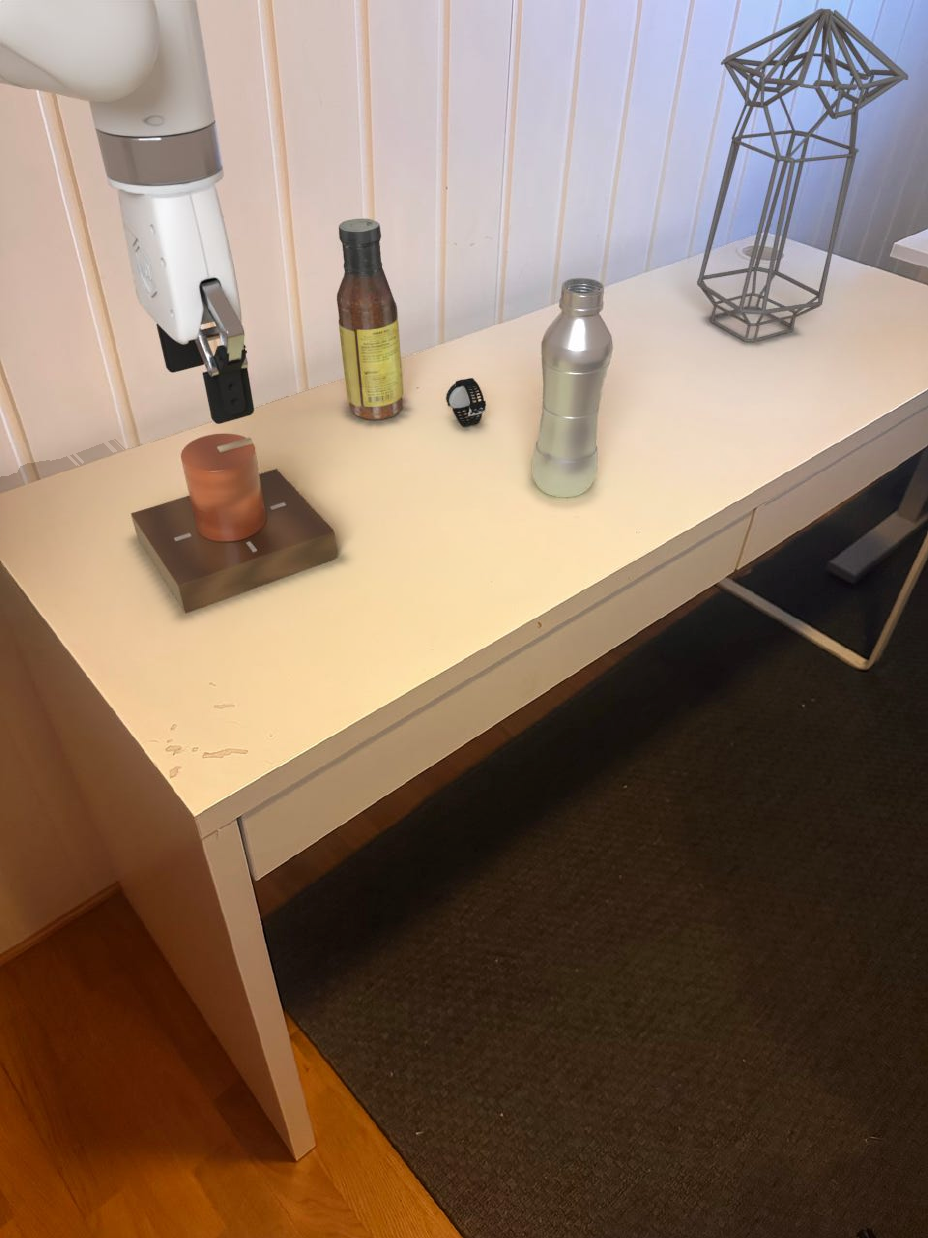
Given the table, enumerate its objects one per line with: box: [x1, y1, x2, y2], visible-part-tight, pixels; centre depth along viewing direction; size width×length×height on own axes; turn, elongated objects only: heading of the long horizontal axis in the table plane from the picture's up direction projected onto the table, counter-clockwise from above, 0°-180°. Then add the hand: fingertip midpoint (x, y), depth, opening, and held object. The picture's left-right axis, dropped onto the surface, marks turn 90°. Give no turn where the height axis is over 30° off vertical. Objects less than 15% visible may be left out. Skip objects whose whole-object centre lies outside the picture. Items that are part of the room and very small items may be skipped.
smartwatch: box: [445, 377, 487, 428], centre depth 96 cm, size 4×5×5 cm
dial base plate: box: [130, 468, 338, 614], centre depth 79 cm, size 14×12×3 cm
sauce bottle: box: [336, 218, 404, 421], centre depth 93 cm, size 7×6×20 cm
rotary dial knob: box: [180, 433, 266, 542], centre depth 76 cm, size 6×6×7 cm
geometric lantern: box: [696, 8, 909, 343], centre depth 107 cm, size 16×16×35 cm
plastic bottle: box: [530, 277, 614, 498], centre depth 82 cm, size 6×7×20 cm
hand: (209, 391), depth 70 cm, fingers open, 9 cm apart
